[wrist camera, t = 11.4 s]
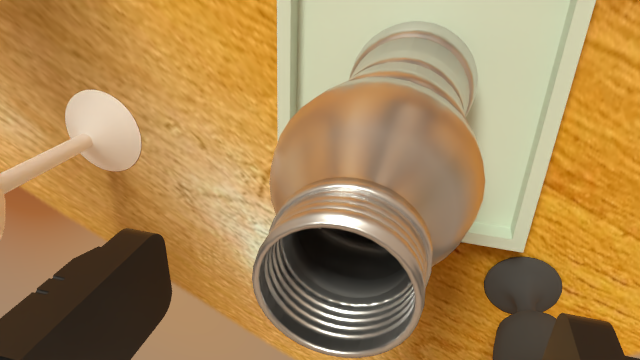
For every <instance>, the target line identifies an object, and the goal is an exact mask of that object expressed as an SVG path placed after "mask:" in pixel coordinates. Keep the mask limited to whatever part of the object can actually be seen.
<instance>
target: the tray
mask: <svg viewBox="0 0 640 360" xmlns="http://www.w3.org/2000/svg"><path fill="white" fill-rule="evenodd" d="M595 2H596V0H277V93H278V140H279V137H280V135H281V133H282V132H283V130H284V128H285V127H286V125H287V124H288V122H289V120H290V119H291V118H292V117H293V116H294V115H295V114H296V113H297V112H298V111H299V110H300V109H301V108H302V107H303V106H304V105H306V104H307V103H309V102H310V101H311V100H313V99H314V98H316V97H317V96H319V95H320V94H322V93H323V92H325V91H326V90H328V89H330V88H332V87H334V86H337V85H339V84H341V83H344V82H346V81H348V80H349V77H350V73H351V70H352V68H353V65H354V63H355V60H356V58H357V56H358V54H359V53H360V51H361V50H362V48H363V47H364V45H365V44H366V43H367V42H368V41H369V40H370V39H371V38H372V37H374V36H375V35H377V34H378V33H379V32H381V31H382V30H384V29H386V28H389V27H391V26H393V25H396V24H400V23H404V22H414V21H422V22H429V23H434V24H437V25H439V26H442V27H445V28H447V29H448V30H450V31H452V32H453V33H455V34H456V35H457V36H458V37H459V38H460V39H461V40H462V41H463V42H464V43H465V44H466V45H467V47H468V48H469V50H470V51H471V53H472V55H473V57H474V60H475V63H476V66H477V74H478V84H477V92H476V95H475V98H474V101H473V104H472V106H471V108H470V110H469V112H468V114H467V116H466V117H465V118H466V120H467V122H468V123H469V125H470V127H471V129H472V131H473V132H474V135H475V138H476V141H477V143H478V146H479V149H480V152H481V156H482V160H483V166H484V174H485V188H484V196H483V202H482V204H481V207H480V210H479V212H478V215H477V218H476V219H475V221H474V222H473V224H472V226H471V227H470V229H469V230H468V232H467V233H466V235H465V236H464V238H463V239H462V241H461V242H464V243H470V244H476V245H482V246H487V247H493V248H499V249H505V250H510V251H516V252H522V253H523V251H524V248H525V244H526V241H527V237H528V234H529V231H530V227H531V224H532V220H533V217H534V213H535V210H536V206H537V203H538V199H539V196H540V192H541V189H542V186H543V182H544V179H545V175H546V172H547V168H548V165H549V161H550V158H551V154H552V151H553V147H554V144H555V141H556V137H557V134H558V130H559V127H560V123H561V120H562V116H563V113H564V109H565V106H566V102H567V99H568V96H569V92H570V89H571V85H572V82H573V78H574V75H575V71H576V68H577V64H578V61H579V57H580V54H581V51H582V47H583V44H584V40H585V37H586V33H587V30H588V26H589V23H590V19H591V16H592V13H593V9H594V6H595Z"/></svg>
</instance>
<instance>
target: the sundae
mask: <svg viewBox="0 0 640 360" xmlns="http://www.w3.org/2000/svg"><path fill="white" fill-rule="evenodd" d="M484 288H485V293H486V295H487V297H488V298H489V300H490V301H491V302H492V303H493V304H494V305H495V306H496V307H498V308H499V309H501V310H502V311H504V312H507V313H510V314H513V315H510V316H509V317H507V318H505V319H504V320H503V321H502V322H501V323H500V325H499V327H498V329H497V333H496V338H495V343H494V350H493V360H542V358H543V355H544V352H545V349H546V347H547V344H548V341H549V338H550V336H551V333H552V330H553V327H554V324H555V322H556V318H554V317H553V316H551V315H549V314H546V313H543V311H546V310H547V309H549V308H550V307H552V306H553V305H554V304H555V303H556V302H557V301H558V299H559V297H560V295H561V293H562V281H561V278H560V277H559V275H558V273H557V272H556V270H555V269H554V268H552V267H551V266H550V265H548V264H547V263H545V262H543V261H541V260H538V259H535V258H530V257H514V258H509V259H506V260H504V261H501V262H499V263H497V264H496V265H495V266H494V267H492V268H491V269H490V270H489V272H488V273H487V275H486V278H485V281H484Z"/></svg>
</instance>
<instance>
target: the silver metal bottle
mask: <svg viewBox="0 0 640 360" xmlns="http://www.w3.org/2000/svg"><path fill="white" fill-rule="evenodd" d="M477 84H478V74H477V66H476V63H475V60H474V57H473V55H472V53H471V51H470V50H469V48H468V47H467V45H466V44H465V43H464V42H463V41H462V40H461V39H460V38H459V37H458V36H457V35H456V34H455V33H453V32H452V31H450V30H448V29H447V28H445V27H442V26H439V25H437V24H434V23H429V22H422V21H414V22H404V23H400V24H396V25H393V26H391V27H389V28H386V29H384V30H382V31H381V32H379V33H378V34H377V35H375V36H374V37H372V38H371V39H370V40H369V41H368V42H367V43H366V44H365V45H364V47H363V48H362V50H361V51H360V53H359V54H358V56H357V58H356V60H355V63H354V65H353V68H352V70H351V73H350V77H349V80H348V81H346V82H344V83H341V84H339V85H337V86H334V87H332V88H330V89H328V90H326V91H325V92H323V93H322V94H320V95H319V96H317V97H316V98H314V99H313V100H311V101H310V102H309V103H307V104H306V105H304V106H303V107H302V108H301V109H300V110H299V111H298V112H297V113H296V114H295V115H294V116H293V117H292V118H291V119H290V120H289V122H288V124H287V125H286V127H285V128H284V130H283V132H282V133H281V135H280V137H279V140H278V143H277V146H276V149H275V152H274V156H273V161H272V166H271V174H270V193H271V201H272V204H273V207H274V210H275V213H276V216H275V218H274V220H273V222H272V225H271V228H270V230H269V235H268V236H267V238H266V239H265V241H264V242H263V244H262V245H261V247H260V249H259V251H258V254H257V257H256V260H255V263H254V266H253V275H252V281H253V288H254V293H255V295H256V298H257V301H258V304H259V305H260V307H261V309H262V310H263V312H264V314H265V315H266V316H267V318H268V319H269V320H270V321H271V322H272V323H273V325H274V326H275V327H276V328H278V329H279V330H280V331H281V332H282V333H283V334H285V335H286V336H287V337H289V338H290V339H292V340H293V341H295V342H297V343H298V344H300V345H302V346H304V347H307V348H309V349H311V350H313V351H316V352H320V353H323V354H326V355H331V356H337V357H343V358H361V357H368V356H374V355H378V354H381V353H384V352H387V351H389V350H391V349H393V348H394V347H396V346H398V345H400V344H401V343H402V342H403V341H404V340H406V339H407V338H408V337H409V336H410V335H411V333H412V332H413V330H414V329H415V327H416V326H417V324H418V321H419V319H420V316H421V313H422V311H423V308H424V300H425V287H426V286H427V284H428V281H429V278H430V275H431V268H432V266H434V265H435V264H437V263H439V262H440V261H442V260H443V259H445V258H446V257H447V256H448V255H449V254H450V253H451V252H452V251H453V250H454V249H455V248H456V247H457V246H458V245H459V244H460V242H461V241H462V239H463V238H464V236H465V235H466V233H467V232H468V230H469V229H470V227H471V226H472V224H473V222H474V221H475V219H476V218H477V215H478V212H479V210H480V207H481V204H482V202H483V196H484V188H485V174H484V166H483V160H482V156H481V152H480V149H479V146H478V143H477V141H476V138H475V135H474V132H473V131H472V129H471V127H470V125H469V123H468V122H467V120H466V118H465V117H466V116H467V114H468V112H469V110H470V108H471V106H472V104H473V101H474V98H475V95H476V92H477Z"/></svg>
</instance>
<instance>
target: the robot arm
mask: <svg viewBox="0 0 640 360" xmlns="http://www.w3.org/2000/svg"><path fill="white" fill-rule="evenodd" d="M171 296H172V287H171V280H170V274H169V267H168V260H167V254H166V247H165V242H164V239H163V237H162V236H161V235H159V234H155V233H150V232H145V231H140V230H134V229H129V228H127V229H123V230H121V231H120V232H119V233H118V234H116V235H115V236H114V237H113V238H112V239H110V240H109V241H108V242H107V243H106V244H105V245H103V246H102V247H97V248H94V249H93V250H90V251H88V252H86V253H84V254H82V255H80V256H78V257H76V258H74V259H72V260H71V261H70V262H69V263H68V264H66V265H65V266H64V267H63V268H61V269H60V270H59V271H58V272H57V273H55V274H54V276H53V278H52V279H48V280H47V281H46V282H45V283H43V284H42V285H41V286H40V287H38V288H37V291H36V293H31V294H30V295H29V296H27V297H26V298H25V299H24V300H22V301H21V302H20V303H19V304H18V305H16V306H15V307H14V308H13V309H11V310H10V311H9V312H8V313H7V314H5V315H4V316H3V317H2V318H1V319H0V360H131V358H132V357H133V356H134V354H135V353H136V352H137V351H138V349H139V348H140V347H141V345H142V344H143V343H144V342H145V340H146V339H147V338H148V337H149V335H150V334H151V333H152V331H153V330H154V329H155V328H156V326H157V325H158V324H159V323H160V321H161V320H162V319H163V317H164V316H165V314H166V312H167V310H168V308H169V305H170V301H171ZM542 360H640V359H637V358H633V357H628V356H625V355H624V353H623V350H622V348H621V345H620V343H619V341H618V338H617V336H616V333H615V331H614V329H613V327H612V325H611V324H610V323H609V322H606V321H601V320H596V319H591V318H586V317H581V316H575V315H570V314H565V313H561V314H560V315H559V316H558V318H557V319H556V322H555V324H554V327H553V330H552V333H551V336H550V338H549V341H548V344H547V347H546V349H545V352H544V355H543V358H542Z"/></svg>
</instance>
